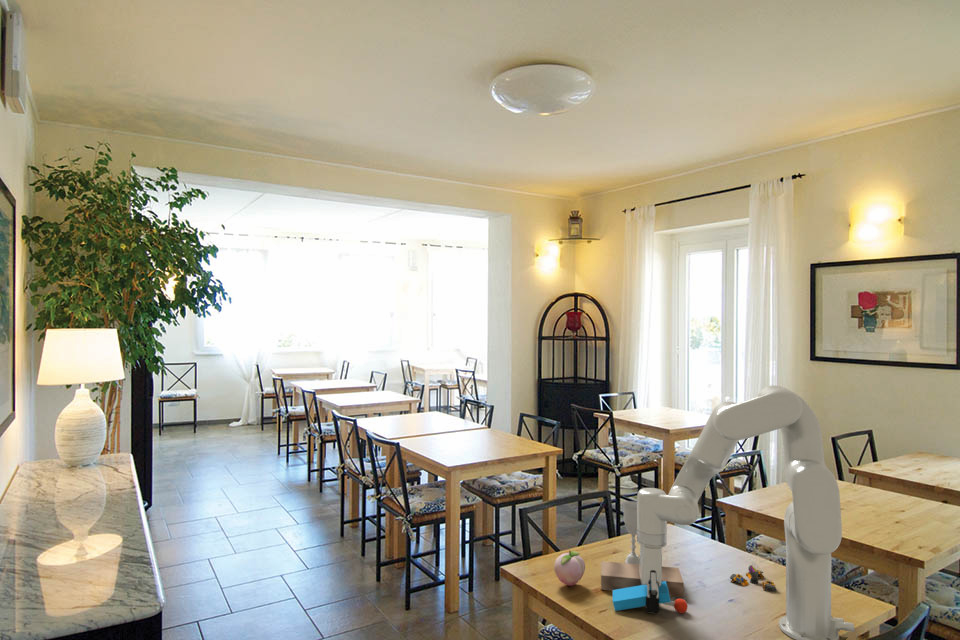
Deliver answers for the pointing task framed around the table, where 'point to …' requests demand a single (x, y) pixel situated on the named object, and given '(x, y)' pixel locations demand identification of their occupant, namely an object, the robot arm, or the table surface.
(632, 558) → the chalice
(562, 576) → the decorative fruit
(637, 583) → the walnut riser block
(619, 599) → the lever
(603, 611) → the table surface
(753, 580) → the toy set
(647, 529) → the robot arm
